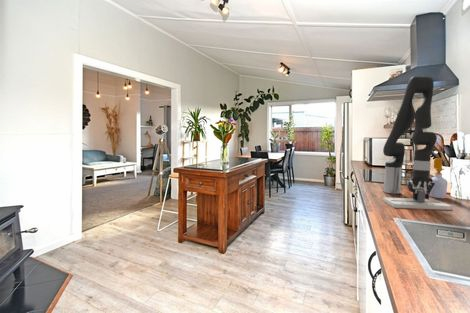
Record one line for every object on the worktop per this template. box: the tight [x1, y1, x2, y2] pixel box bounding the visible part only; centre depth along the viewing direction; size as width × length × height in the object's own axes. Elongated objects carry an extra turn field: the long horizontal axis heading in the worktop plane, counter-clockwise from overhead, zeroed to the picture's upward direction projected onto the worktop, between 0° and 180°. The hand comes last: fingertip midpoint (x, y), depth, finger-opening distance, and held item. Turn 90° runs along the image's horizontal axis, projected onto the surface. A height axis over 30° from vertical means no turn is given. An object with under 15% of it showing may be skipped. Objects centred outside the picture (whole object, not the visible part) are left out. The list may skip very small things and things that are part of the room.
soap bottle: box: [429, 157, 448, 199], centre depth 153 cm, size 9×9×25 cm
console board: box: [382, 196, 452, 211], centre depth 137 cm, size 13×28×2 cm, turn 83°
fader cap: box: [412, 189, 426, 202], centre depth 136 cm, size 5×3×6 cm, turn 173°
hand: (418, 199), depth 136 cm, fingers closed on fader cap, 3 cm apart
